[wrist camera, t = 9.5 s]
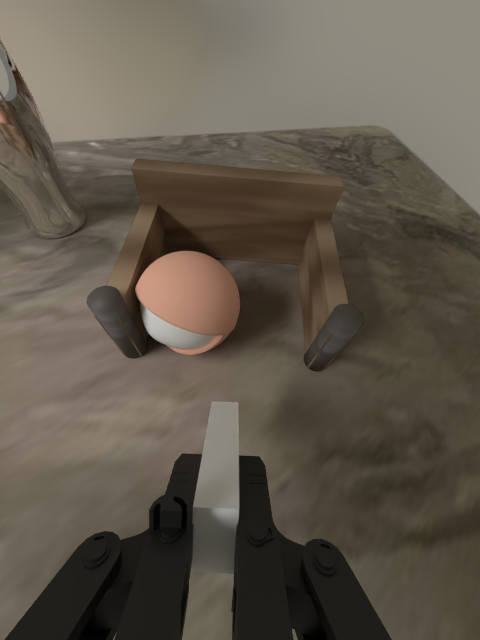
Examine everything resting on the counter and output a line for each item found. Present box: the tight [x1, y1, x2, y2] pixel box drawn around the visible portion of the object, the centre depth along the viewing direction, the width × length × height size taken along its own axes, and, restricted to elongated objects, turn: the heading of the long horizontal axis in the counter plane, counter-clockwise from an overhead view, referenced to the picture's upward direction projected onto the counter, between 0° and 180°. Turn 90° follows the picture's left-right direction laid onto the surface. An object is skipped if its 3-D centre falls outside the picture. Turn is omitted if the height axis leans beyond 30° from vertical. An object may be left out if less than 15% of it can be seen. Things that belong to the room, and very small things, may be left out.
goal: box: [87, 159, 364, 371], centre depth 22 cm, size 14×18×9 cm
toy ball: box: [135, 251, 240, 355], centre depth 20 cm, size 8×8×8 cm
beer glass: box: [0, 38, 86, 239], centre depth 24 cm, size 7×7×15 cm
